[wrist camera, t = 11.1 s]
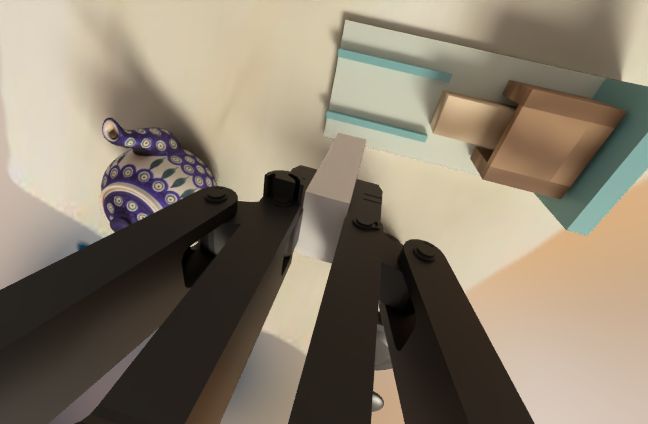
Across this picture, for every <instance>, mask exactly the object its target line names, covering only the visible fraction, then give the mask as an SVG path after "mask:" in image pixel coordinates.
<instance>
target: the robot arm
mask: <svg viewBox="0 0 648 424" xmlns="http://www.w3.org/2000/svg"><path fill="white" fill-rule="evenodd" d="M365 144H366V139H362V138H358V137H354V136H350V135H346V134H342V133H338V134H337V136H336V138H335V139H334V141H333V143H332V145H331V147H330V148H329V150H328V152H327V154H326V156H325V157H324V159H323V161H322V163H321V165H320V166H319V168H318V170H317V169H313V168H309V167H305V166H301V165H300V166H298V167H296V168H293V169H292V170H291V172H289V171H283V170H279V171H272V172H268V173H267V174H265V179H264V193H263V197H262V198H261V200H260V201H259V202H243V201H238V196H237V194H236V192H234V191H233V190H231V189H229V188H226V187H221V186H220V187H219V186H213V187H206V188H203V189H200V190H198V191H196V192H194V193H192V194H190V195H188V196H186V197H184V198H183V199H181V200H179V201H177V202H175V203H173V204H171V205H169V206H167V207H165V208H163V209H161V210H159V211H157V212H155V213H153V214H151V215H149V216H147V217H145V218H143V219H141V220H139V221H137V222H135V223H133V224H131V225H129V226H127V227H125V228H123V229H121V230H119V231H117V232H115V233H113V234H111V235H109V236H107V237H105V238H103V239H101V240H99V241H97V242H95V243H93V244H91V245H89V246H87V247H85V248H83V249H81V250H79V251H77V252H75V253H73V254H71V255H69V256H67V257H65V258H63V259H61V260H59V261H57V262H55V263H53V264H51V265H49V266H47V267H45V268H43V269H41V270H39V271H37V272H35V273H33V274H31V275H29V276H27V277H25V278H23V279H21V280H19V281H18V282H16V283H14V284H11V285H9V286H7V287H5V288H3V289H1V290H0V424H48V423H50V422H51V421H52V420H53V419H54V418H55V417H56V416H58V415H59V414H60V413H61V412H62V411H63V410H65V409H66V408H67V407H68V406H69V405H70V404H71V403H72V402H74V401H75V400H76V399H77V398H78V397H79V396H81V395H82V394H83V393H84V392H85V391H86V390H87V389H89V388H90V387H91V386H92V385H93V384H94V383H96V382H97V381H98V380H99V379H100V378H101V377H103V375H105V374H106V373H107V372H108V371H109V370H110V369H112V368H113V367H114V366H115V365H116V364H117V363H119V362H120V361H121V360H122V359H123V358H124V357H126V356H127V354H129V353H130V352H131V351H132V350H134V349H135V348H136V347H137V346H138V345H139V344H140V343H142V342H143V341H144V340H145V339H146V338H147V337H149V336H150V335H151V334H152V333H153V332H154V331H155V330H157V329H158V328H159V327H160V328H159V329H158V330H157V331H156V333H155V334H154V335H153V337H152V338H151V339H150V340H149V342H148V343H147V344H146V346H145V347H144V348H143V349H142V350H141V352H140V353H139V354H138V356H137V357H136V358H135V359H134V361H133V362H132V363H131V364H130V366H129V367H128V368H127V369H126V371H125V372H124V373H123V375H122V376H121V377H120V379H119V380H118V381H117V382H116V383H115V385H114V386H113V387H112V389H111V390H110V391H109V392H108V394H107V395H106V396H105V397H104V399H103V400H102V401H101V402H100V404H99V405H98V406H97V407H96V408H95V409H94V411H93V412H92V413H91V414H90V415H89V416H87V417H86V418H85V419H83V420H82V421H81V422H78V423H75V424H220V422H221V419H222V417H223V414H224V413H225V410H226V408H227V406H228V403H229V401H230V399H231V397H232V394H233V392H234V390H235V388H236V386H237V383H238V381H239V379H240V376H241V374H242V372H243V370H244V367H245V365H246V363H247V360H248V358H249V356H250V354H251V352H252V349H253V347H254V345H255V342H256V340H257V338H258V336H259V334H260V331H261V329H262V327H263V325H264V322H265V320H266V318H267V316H268V313H269V311H270V309H271V307H272V304H273V302H274V300H275V298H276V295H277V293H278V291H279V289H280V286H281V284H282V282H283V280H284V277H285V275H286V273H287V271H288V268H289V266H290V264H291V260H292V254H293V251H294V249H295V246H296V250H295V253H297V254H301V255H304V256H308V257H311V258H315V259H318V260H322V261H325V262H329V263H332V266H331V269H330V273H329V276H328V280H327V284H326V287H325V291H324V295H323V298H322V302H321V305H320V309H319V313H318V316H317V320H316V324H315V327H314V331H313V335H312V338H311V342H310V345H309V349H308V353H307V356H306V360H305V364H304V368H303V371H302V375H301V378H300V382H299V386H298V389H297V393H296V397H295V400H294V404H293V407H292V411H291V415H290V418H289V422H288V424H371V413H372V398H373V382H374V367H375V351H376V336H377V320H378V304H379V308H380V313H381V317H382V322H383V326H384V331H385V336H386V340H387V345H388V349H389V354H390V358H391V363H392V367H393V372H394V376H395V381H396V386H397V390H398V394H399V399H400V404H401V408H402V413H403V417H404V422H405V424H534V422H533V420H532V418H531V416H530V414H529V412H528V411H527V409H526V407H525V405H524V403H523V402H522V399H521V397H520V396H519V394H518V392H517V390H516V388H515V386H514V384H513V382H512V381H511V379H510V377H509V375H508V373H507V371H506V370H505V368H504V366H503V364H502V362H501V360H500V358H499V356H498V354H497V353H496V351H495V349H494V347H493V345H492V343H491V341H490V340H489V338H488V336H487V334H486V332H485V330H484V328H483V326H482V325H481V323H480V321H479V319H478V317H477V315H476V314H475V312H474V310H473V308H472V306H471V304H470V302H469V301H468V298H467V297H466V295H465V293H464V291H463V289H462V287H461V285H460V284H459V282H458V280H457V278H456V276H455V274H454V272H453V270H452V269H451V267H450V265H449V263H448V261H447V259H446V257H445V256H444V254H443V253H442V252H441V250H439V249H438V248H437V247H436V246H434V245H433V244H431V243H429V242H426V241H423V240H419V239H411V240H409V241H406V242H405V244H404V245H402V244H400V243H398V242H396V241H394V240H392V239H391V238H389V237H388V236H387V235H386V234H385V233H384V232H383V226H382V224H381V222H380V218H381V205H382V190H381V188H380V187H379V185H377V184H373V183H369V182H366V181H362V180H358V179H356V178H357V175H358V171H359V167H360V163H361V159H362V155H363V152H364V148H365ZM197 241H198V243H197V244H196V245H194V246H192V247H190V246H191V245H192V244H194V243H195V242H197Z"/></svg>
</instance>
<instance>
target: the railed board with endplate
mask: <svg viewBox="0 0 648 424" xmlns="http://www.w3.org/2000/svg"><path fill="white" fill-rule="evenodd" d="M337 57H338V62H337V67H336V73H335V78H334V83H333V89H332V94H331V99H330V104H329V109H328V111H327V114H326V118H327V120H326V126H325V131H324V136H325V137H329V138H332V139H335V138H336V136H337V134H338V133H342V134H346V135H350V136H354V137H358V138H362V139H366V144H365V147H368V148H371V149H375V150H379V151H383V152H387V153H391V154H395V155H399V156H403V157H407V158H410V159H414V160H418V161H422V162H426V163H430V164H434V165H438V166H442V167H446V168H449V169H453V170H457V171H461V172H465V173H469V174H473V175H477V176H480V174H479V173H478V171H477V169H476V168H475V166H474V164H473V163H472V161H471V159H470V157H471V155H472V153H473V151H474V149H475V147H479V148H483V149H487V150H491V151H494V149H491V148H487V147H483V146H479V145H476V144H472V143H468V142H464V141H460V140H456V139H452V138H448V137H444V136H440V135H436V134H433V132H432V129H431V127H430V122H431V119H432V117H433V114H434V112H435V109H436V106H437V104H438V101H439V99H440V96H441V94H442V91H443V89H445V90H449V91H453V92H457V93H461V94H465V95H470V96H474V97H478V98H482V99H486V100H490V101H494V102H499V103H503V104H507V105H511V106H515V107H518V105H519V104H518V103H516V102H514V101H512V100H511V99H509V98H507V97H505V96H504V95H502V93H503V91H504V89H505V87H506V85H507V83H508V81H509V80H513V81H517V82H521V83H526V84H530V85H534V86H539V87H543V88H547V89H552V90H556V91H560V92H565V93H569V94H574V95H578V96H582V97H587V98H590V99H593V100H596V101H599V102H602V103H605V104H608V105H611V106H614V107H617V108H620V109H623V110H626V111H627V113H626V114H625V115H624V117H623V118H622V119H621V121H620V122H619V123H618V125H617V126H616V127H615V129H614V130H613V131H612V133H611V134H610V135H609V137H608V138H607V139H606V141H605V142H604V143H603V144H602V146H601V147H600V148H599V150H598V151H597V152H596V154H595V155H594V156H593V158H592V159H591V160H590V162H589V163H588V164H587V166H586V167H585V168H584V170H583V171H582V172H581V174H580V175H579V176H578V177H577V179H576V180H575V181H574V183H573V184H572V185H571V187H570V188H569V189H568V191H567V192H566V193H565V195H564V196H563V197H562V199H557V198H553V197H549V196H545V195H541V194H537V193H535V195H536V196H537V197H538V198H539V199H540V200H541V201H542V203H543V204H544V205H545V206H546V207H547V208H548V210H549V211H550V212H551V213H552V214H553V215H554V216H555V218H556V219H557V220H558V221H559V222H560V223H561V224H562V226H563V227H564V228H565V229H566V230H568V231H572V232H575V233H579V234H583V235H588V234H589V233H590V232H591V231H592V230H593V229H594V228H595V227H596V225H597V224H598V223H599V222H600V221H601V220H602V219H603V218H604V217H605V215H606V214H607V213H608V212H609V211H610V210H611V209H612V207H613V206H614V205H615V204H616V203H617V202H618V201H619V200H620V199H621V197H622V196H623V195H624V194H625V193H626V192H627V191H628V190H629V189H630V187H631V186H632V185H633V184H634V183H635V182H636V181H637V180H638V178H639V177H640V176H641V175H642V174H643V173H644V172H645V171H646V169H647V168H648V87H647V86H642V85H637V84H633V83H628V82H623V81H618V80H613V79H608V78H604V77H599V76H595V75H590V74H586V73H581V72H577V71H572V70H568V69H564V68H559V67H555V66H550V65H546V64H541V63H537V62H532V61H528V60H523V59H519V58H514V57H510V56H505V55H501V54H496V53H492V52H487V51H483V50H478V49H474V48H469V47H465V46H461V45H456V44H452V43H447V42H443V41H438V40H434V39H429V38H425V37H420V36H416V35H411V34H407V33H402V32H398V31H393V30H389V29H384V28H380V27H375V26H371V25H367V24H362V23H358V22H353V21H349V20H345V25H344V31H343V36H342V41H341V46H340V48H339V50H338V55H337Z"/></svg>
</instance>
